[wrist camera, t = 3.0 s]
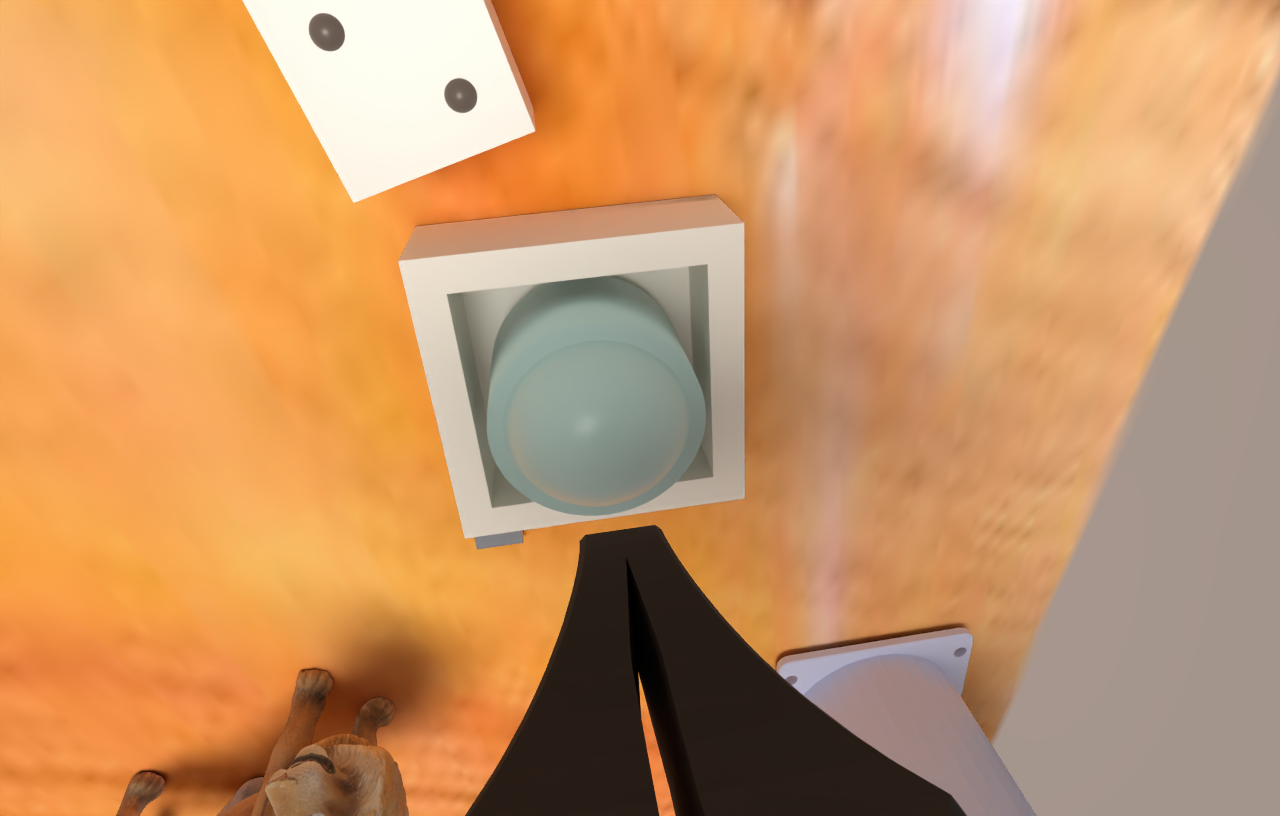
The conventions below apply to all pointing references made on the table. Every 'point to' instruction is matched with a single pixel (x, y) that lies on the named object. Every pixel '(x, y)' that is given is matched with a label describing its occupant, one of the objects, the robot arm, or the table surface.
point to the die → (397, 82)
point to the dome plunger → (592, 398)
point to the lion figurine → (310, 766)
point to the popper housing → (566, 250)
